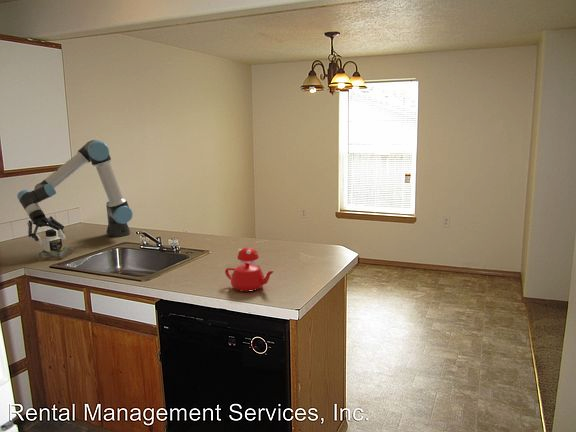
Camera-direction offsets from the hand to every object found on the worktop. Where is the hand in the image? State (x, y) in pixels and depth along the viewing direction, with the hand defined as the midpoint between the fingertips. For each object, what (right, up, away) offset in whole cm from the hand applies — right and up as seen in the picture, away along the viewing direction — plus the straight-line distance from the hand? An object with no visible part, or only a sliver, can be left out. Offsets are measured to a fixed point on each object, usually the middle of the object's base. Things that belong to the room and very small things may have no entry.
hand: (53, 241), depth 267 cm
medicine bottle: (-1, -5, +2) cm, 5 cm away
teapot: (+115, -18, -53) cm, 128 cm away
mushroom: (+112, -13, -27) cm, 116 cm away
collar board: (-1, -8, +2) cm, 9 cm away
